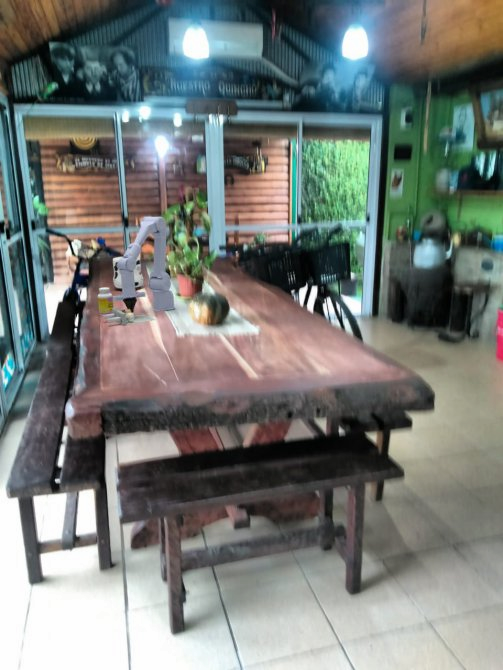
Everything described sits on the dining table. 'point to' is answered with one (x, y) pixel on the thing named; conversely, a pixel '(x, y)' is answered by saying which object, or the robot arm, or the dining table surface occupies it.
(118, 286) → the milk container
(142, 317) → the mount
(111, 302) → the supplement bottle
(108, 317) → the charcoal knob
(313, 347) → the dining table surface
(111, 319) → the ivory knob
